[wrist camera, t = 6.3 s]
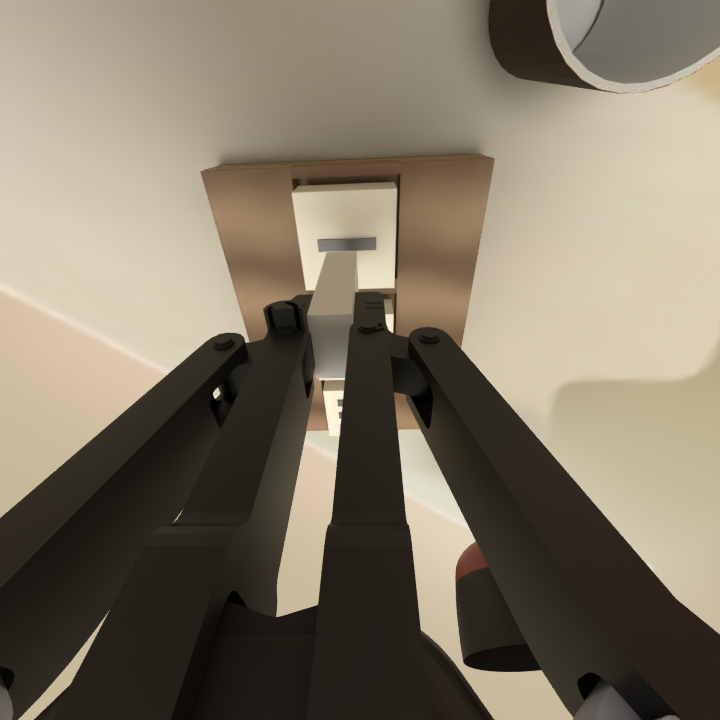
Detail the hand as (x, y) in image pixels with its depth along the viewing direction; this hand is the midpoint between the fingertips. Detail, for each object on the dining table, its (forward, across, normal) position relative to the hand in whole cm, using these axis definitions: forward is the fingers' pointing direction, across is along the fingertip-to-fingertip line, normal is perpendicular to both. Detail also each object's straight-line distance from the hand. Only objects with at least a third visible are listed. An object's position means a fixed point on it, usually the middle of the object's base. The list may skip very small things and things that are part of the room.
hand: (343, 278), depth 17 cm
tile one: (+7, 0, 0) cm, 7 cm away
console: (+10, 0, -8) cm, 13 cm away
